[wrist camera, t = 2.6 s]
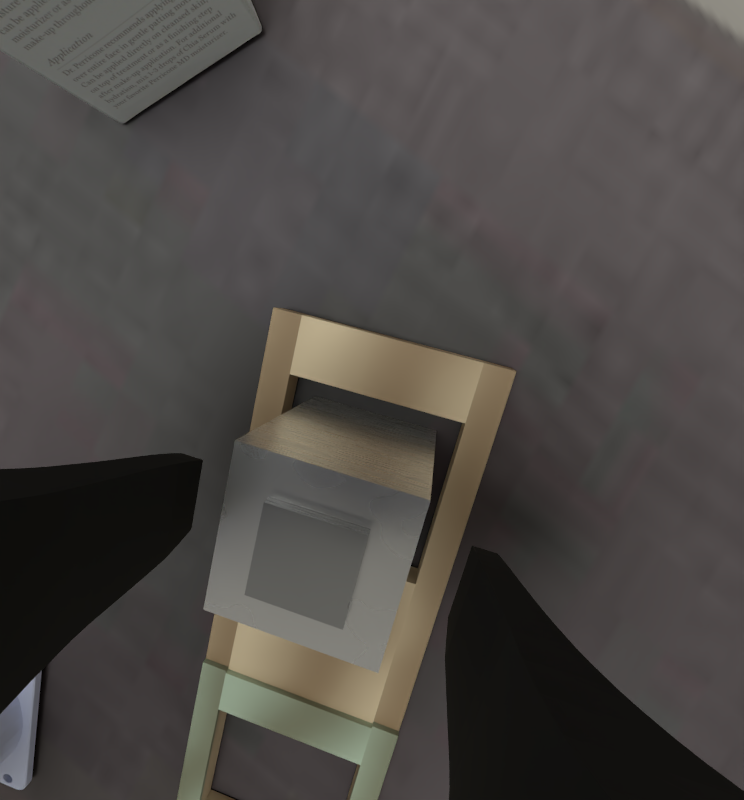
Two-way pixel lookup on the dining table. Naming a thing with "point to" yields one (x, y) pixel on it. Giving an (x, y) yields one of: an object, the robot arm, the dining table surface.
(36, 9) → the skincare box
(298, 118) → the dining table surface
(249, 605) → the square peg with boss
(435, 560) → the wooden peg board
